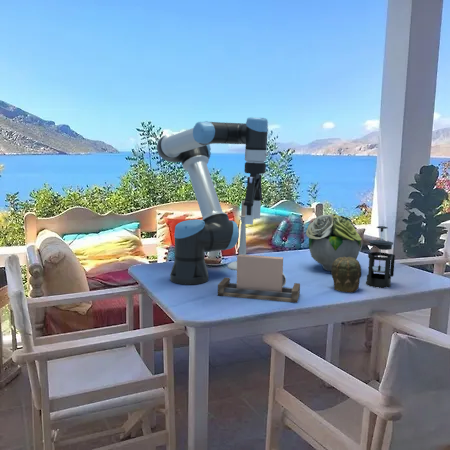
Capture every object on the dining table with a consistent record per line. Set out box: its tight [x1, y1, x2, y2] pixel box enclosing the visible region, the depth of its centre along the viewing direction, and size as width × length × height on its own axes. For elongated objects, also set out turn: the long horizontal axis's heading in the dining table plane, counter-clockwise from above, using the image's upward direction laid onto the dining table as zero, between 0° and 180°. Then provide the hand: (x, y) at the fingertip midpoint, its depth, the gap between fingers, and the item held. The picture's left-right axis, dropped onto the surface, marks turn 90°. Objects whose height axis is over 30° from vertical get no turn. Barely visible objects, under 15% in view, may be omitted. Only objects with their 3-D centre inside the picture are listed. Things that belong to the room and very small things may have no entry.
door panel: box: [236, 253, 284, 292], centre depth 171 cm, size 16×3×13 cm, turn 76°
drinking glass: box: [282, 272, 287, 288], centre depth 185 cm, size 7×7×15 cm
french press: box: [365, 225, 396, 289], centre depth 186 cm, size 12×9×23 cm
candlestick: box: [227, 200, 247, 272], centre depth 209 cm, size 13×13×30 cm
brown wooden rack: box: [217, 277, 301, 304], centre depth 171 cm, size 28×10×4 cm, turn 76°
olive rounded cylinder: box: [330, 257, 362, 293], centre depth 180 cm, size 11×11×12 cm
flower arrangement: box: [305, 213, 363, 272], centre depth 208 cm, size 25×25×24 cm
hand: (252, 221), depth 174 cm, fingers open, 13 cm apart
